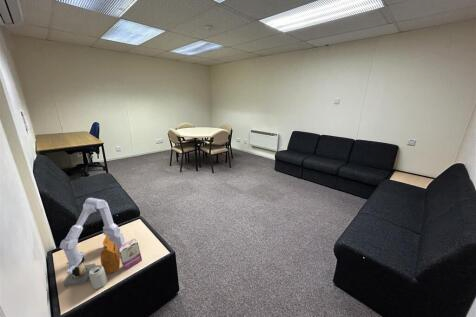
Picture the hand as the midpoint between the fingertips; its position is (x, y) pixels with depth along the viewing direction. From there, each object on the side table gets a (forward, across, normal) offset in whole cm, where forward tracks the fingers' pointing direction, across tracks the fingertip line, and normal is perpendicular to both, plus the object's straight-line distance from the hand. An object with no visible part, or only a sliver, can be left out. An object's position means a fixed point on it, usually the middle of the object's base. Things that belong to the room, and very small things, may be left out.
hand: (79, 272), depth 125 cm
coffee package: (+4, -4, +17) cm, 18 cm away
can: (+4, +8, +14) cm, 17 cm away
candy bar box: (+4, -4, +29) cm, 29 cm away
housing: (+3, 0, 0) cm, 3 cm away
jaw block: (+2, 0, 0) cm, 2 cm away
